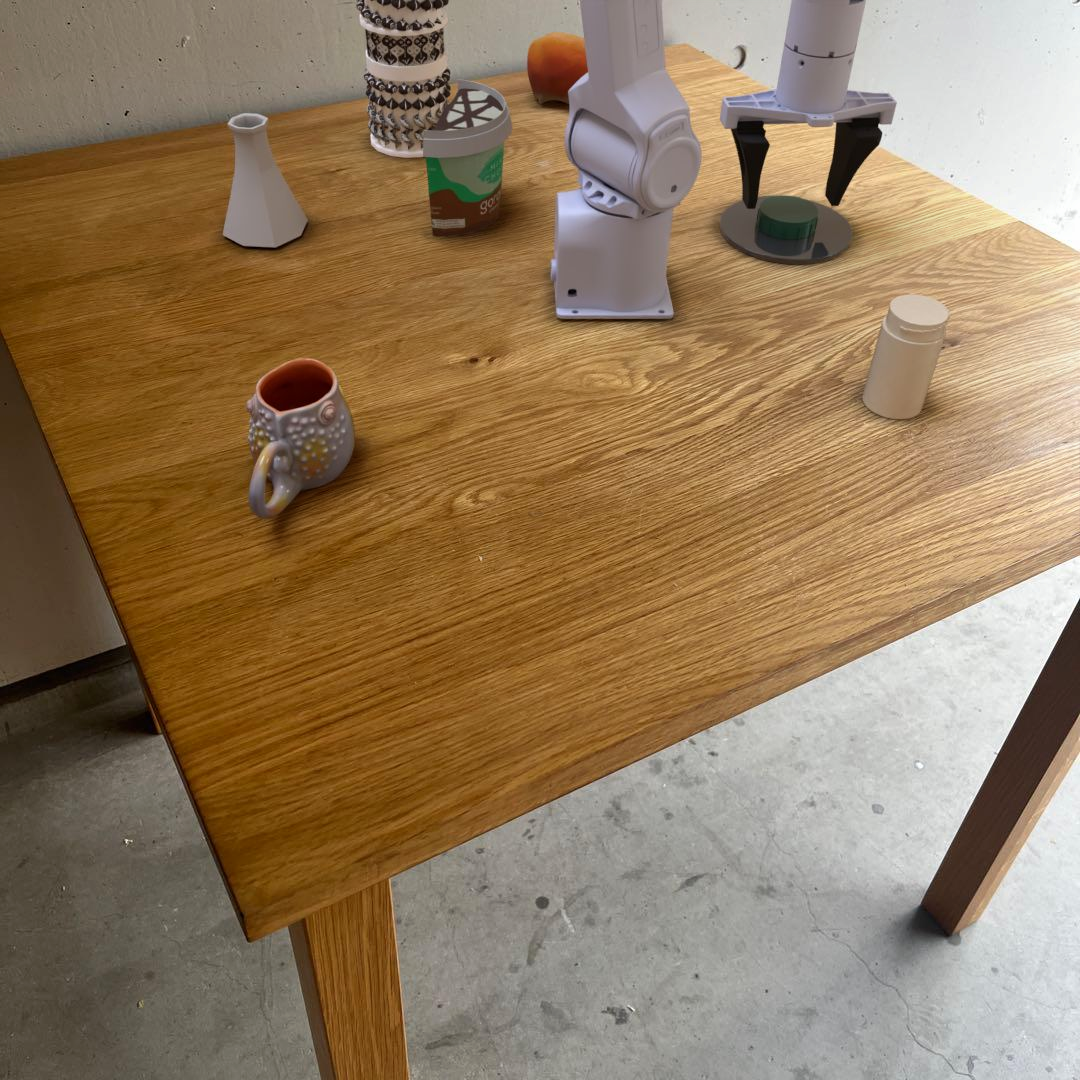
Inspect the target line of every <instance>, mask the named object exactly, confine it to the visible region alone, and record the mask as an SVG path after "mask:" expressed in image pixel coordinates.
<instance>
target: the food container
mask: <svg viewBox="0 0 1080 1080" xmlns="http://www.w3.org/2000/svg"><path fill="white" fill-rule="evenodd" d="M449 103H450V104H449V105H448V106H446V107H445V109H444V110H443V112H442V114H441V116H440V118H439V120H438V122H437V124H436V126H435V128H434V129H433V131H430V130H424V139H423V157H422V158H425V165H426V176H427V186H428V188H427V189H428V199H429V209H430V210H429V211H430V221H431V222H430V223H431V234H432V236H439V237H451V236H452V237H453V236H464V235H469V234H472V233H477V232H480V231H482V230H484V229H487V228H489V227H490V226H492V225H493V224H494V223H495V222H496V221H497V220H498V218H499V217H500V212H501V211H500V210H501V199H502V198H501V197H502V183H503V168H504V154H505V153H504V152H505V142H506V141H507V140H508V139H509V138H510V136H511V134H512V132H513V122H512V117H511V113H510V107H509V106H508V104H507V102H506V99H505V97H504V96H503V95H502V93H500V92H499V91H497V90H496V89H495V88H492V87H491V86H489V85H486V84H484V83H480V82H476V81H472V80H467V79H461V78H460V79H459V78H457V92H456V93H455V96H454V98H453V99H452V101H450V102H449Z"/></svg>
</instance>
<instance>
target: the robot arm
mask: <svg viewBox="0 0 1080 1080" xmlns="http://www.w3.org/2000/svg"><path fill="white" fill-rule="evenodd" d="M866 2H867V0H790V6H789V7H790V8H789V13H788V19H787V25H786V30H785V31H786V32H785V37H784V41H783V49H782V55H781V60H780V65H779V66H780V67H779V74H778V79H777V85H776V88H775V89H769V90H763V91H759V92H754V93H749V94H748V93H747V94H743V95H736V96H735V95H734V96H723V97H722V98H721V106H720V112H719V113H720V114H719V121H720V123H721V125H722V127H723V128H724V130H730V131H731V134H732V138H733V141H734V145H735V148H736V152H737V157H738V162H739V168H740V175H741V187H742V188H741V193H742V195H741V199H742V200H743V202H744V203H745V205H746V207H747V209H755V207H756V204H757V200H758V197H759V191H760V183H761V178H762V177H761V176H762V172H763V168H764V164H765V162H766V158H767V154H768V151H769V149H770V147H771V144H770V141H768V138H767V137H766V134H767V133H766V132H767V131H766V129H765V128H764V126H765V125H796V124H798V125H799V124H800V125H801V124H807V125H808V126H809V127H811V128H830V127H832V126H834V124H835V134H834V144H833V151H832V159H831V162H830V166H829V171H828V175H827V180H826V185H825V194H824V196H825V198H826V199H827V201H828V202H829V204H830V206H831V207H839V206H840V204H841V201H842V200H843V197H844V195H845V193H846V191H847V190H848V187H849V185H850V184H851V182H852V180H853V178H854V177H855V175H856V174H857V172H858V170H859V169H860V167H861V166H862V165H863V164H864V162H865V161H866V160H867V158H868V157H869V156H870V155H871V154H872V153H873V152H874V151H875V150H876V149H877V147H878V146H880V144H881V140H882V138H883V131H882V129H881V128H880V127H879V125H882V126H883V125H892V124H893V120H894V117H895V112H896V107H897V103H898V102H897V101H896V99H895V98H894V97H893V95H891V93H890V92H868V91H860V90H850V89H848V88H849V83H850V79H851V74H852V68H853V65H854V60H855V55H856V50H857V45H858V41H859V37H860V36H859V35H860V31H861V28H862V27H861V26H862V22H863V18H864V12H865V7H866V4H867V3H866ZM579 5H580V15H581V24H582V32H583V38H584V41H585V50H586V58H587V67H588V73H586V74H585V75H584V76H582V77H581V78H580V79H579V80H578V81H577V82H576V83H575V84H574V85H573V86H572V87H571V88H570V89H569V91H568V96H569V104H568V106H569V107H568V108H569V109H568V110H569V112H568V118H567V119H568V120H567V123H566V127H565V131H564V137H563V139H564V140H563V141H564V143H563V144H564V151H565V155H566V157H567V159H568V161H569V162H570V164H571V165H573V167H575V168H576V169H577V184H578V185H579V186H580V188H575V189H573V190H568V191H559V192H557V193H556V194H555V206H554V207H555V208H554V209H555V210H554V242H553V246H554V247H553V258H552V259H550V282H552V283H553V288H554V300H555V301H554V302H555V314H556V318H558V319H560V320H669V319H672V318H674V312H675V311H674V308H673V307H674V306H673V303H672V298H671V293H670V289H669V285H668V284H669V283H668V280H667V271H668V263H669V261H668V260H669V254H670V253H669V252H670V242H671V235H672V225H673V216H674V208H676V207H678V206H680V205H681V202H682V201H683V200H684V199H685V198H686V197H687V196H688V195H689V193H690V191H691V190H692V189H693V188H694V185H695V183H696V181H697V179H698V177H699V173H700V170H701V165H702V157H703V156H702V155H703V154H702V153H703V151H702V146H701V142H700V139H699V138H698V137H697V134H695V131H694V130H693V128H692V124H691V123H692V122H691V110H690V106H689V104H688V103H687V101H686V99H685V97H684V96H683V95H682V93H681V91H680V89H679V88H678V86H677V85H676V84H675V82H674V81H673V79H672V77H671V76H670V74H669V72H668V71H667V68H666V67H667V66H666V53H665V52H666V50H665V36H664V35H665V34H664V33H665V31H664V17H663V1H662V0H579ZM742 200H741V201H742Z"/></svg>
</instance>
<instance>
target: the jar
mask: <svg viewBox="0 0 1080 1080" xmlns="http://www.w3.org/2000/svg"><path fill="white" fill-rule="evenodd" d="M950 318H951V316H950V311H949V310H948V307H947V306H946V305H945V304H943V303H942V302H940V301H939V300H937V299H936V298H933V297H930V296H926V295H922V294H915V293H914V294H913V293H912V294H911V293H910V294H908V293H907V294H901V295H898V296H895V297H894V298H893V299H892V300H891V301H890V303H889V307H888V310H887V313H886V314H885V316H884V317H883V319H882V321H881V325H880V328H879V332H878V336H877V339H876V343H875V347H874V350H873V354H872V358H871V361H870V364H869V370H868V373H867V377H866V380H865V384H864V387H863V391H862V395H861V398H862V402H863V404H864V405H865V407H866V408H867V409H868V410H870V412H872V413H874V414H876V415H878V416H880V417H883V418H887V419H891V420H907V419H911V418H914V417H917V416H918V415H919V414H920V413H921V412H922V410H923V408H924V405H925V401H926V398H927V396H928V392H929V389H930V386H931V382H932V379H933V376H934V373H935V370H936V367H937V364H938V361H939V358H940V355H941V351H942V348H943V345H944V342H945V339H946V336H947V329H946V328H947V327H946V326H947V325H948V324H949V322H950Z"/></svg>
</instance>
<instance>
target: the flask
mask: <svg viewBox="0 0 1080 1080" xmlns="http://www.w3.org/2000/svg"><path fill="white" fill-rule="evenodd" d="M268 125H269V117H267V116H265V115H262V114H259V113H249V112H243V113H240V114H237V115H235V116H232V117H230V119H229V120H228V122H227V128H228V130H229V131H231V132H232V135H233V142H234V157H235V158H234V171H233V177H232V185H231V190H230V196H229V201H228V205H227V210H226V215H225V220H224V226H223V231H222V236H224V237H225V238H228V239H230V240H231V241H234V242H235V243H236V244H239V245H241V246H243V247H258V248H259V247H260V248H278V247H280V246H282V245H284V244H286V243H289V242H291V241H293V240H294V239H297V238H299V237H300V236H302V234H303V231H304V229H305V228H306V225H307V223H308V221H309V219H308V218H307V216H306V214H305V212H304V210H303V208H302V207H301V205H300V203H299V201H297V198H296V197H295V195H294V194H293V192H292V190H291V188H290V186H289V184H288V183H287V181H286V179H285V178H284V175H283V174H282V172H281V170H280V167H279V165H278V164H277V162H276V160H275V157H274V153H273V151H272V149H271V145H270V143H269V138H268V131H267V127H268Z"/></svg>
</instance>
